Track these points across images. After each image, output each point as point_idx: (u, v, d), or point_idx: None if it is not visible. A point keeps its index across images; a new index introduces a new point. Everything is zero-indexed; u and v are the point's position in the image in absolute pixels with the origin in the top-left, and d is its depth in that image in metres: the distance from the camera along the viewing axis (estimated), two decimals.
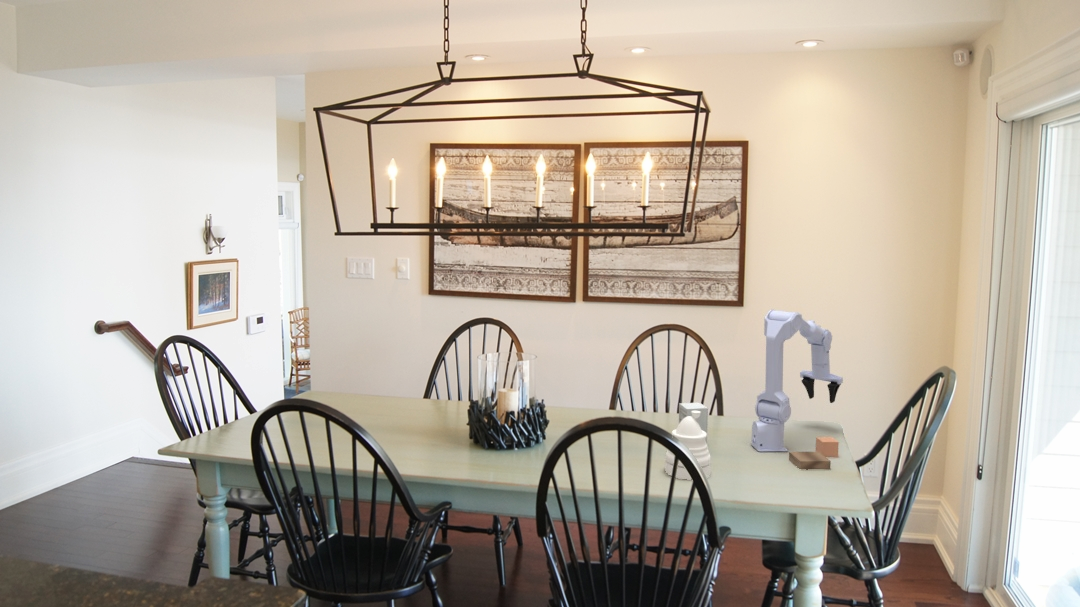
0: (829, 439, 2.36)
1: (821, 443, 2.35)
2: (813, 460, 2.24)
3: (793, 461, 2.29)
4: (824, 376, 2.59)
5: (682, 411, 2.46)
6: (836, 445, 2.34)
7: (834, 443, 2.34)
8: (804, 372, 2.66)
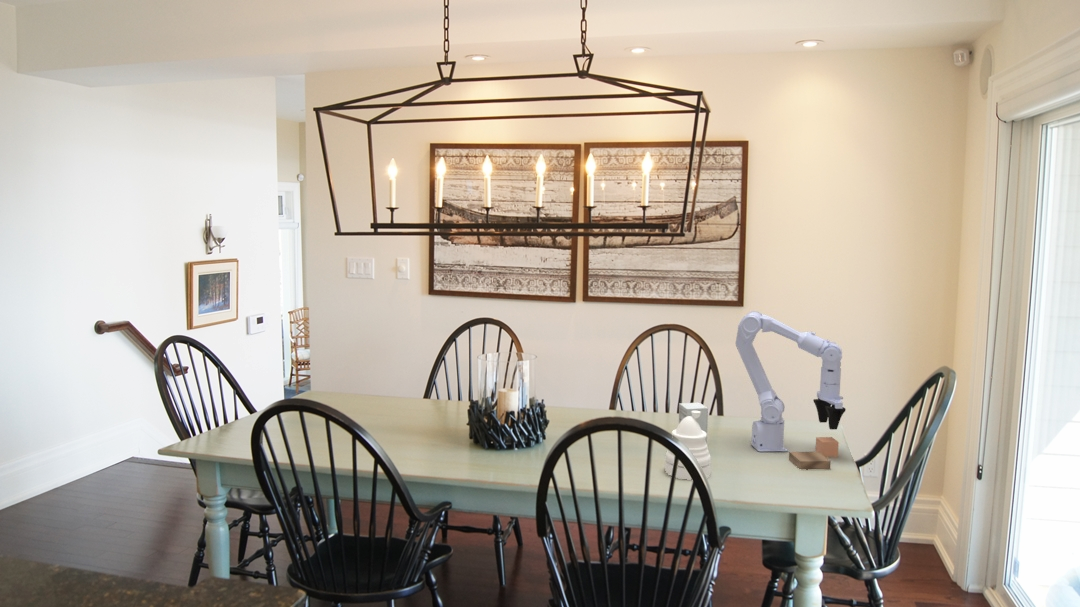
0: (829, 439, 2.36)
1: (821, 443, 2.35)
2: (813, 460, 2.24)
3: (793, 461, 2.29)
4: (826, 397, 2.33)
5: (682, 411, 2.46)
6: (836, 445, 2.34)
7: (834, 443, 2.34)
8: None
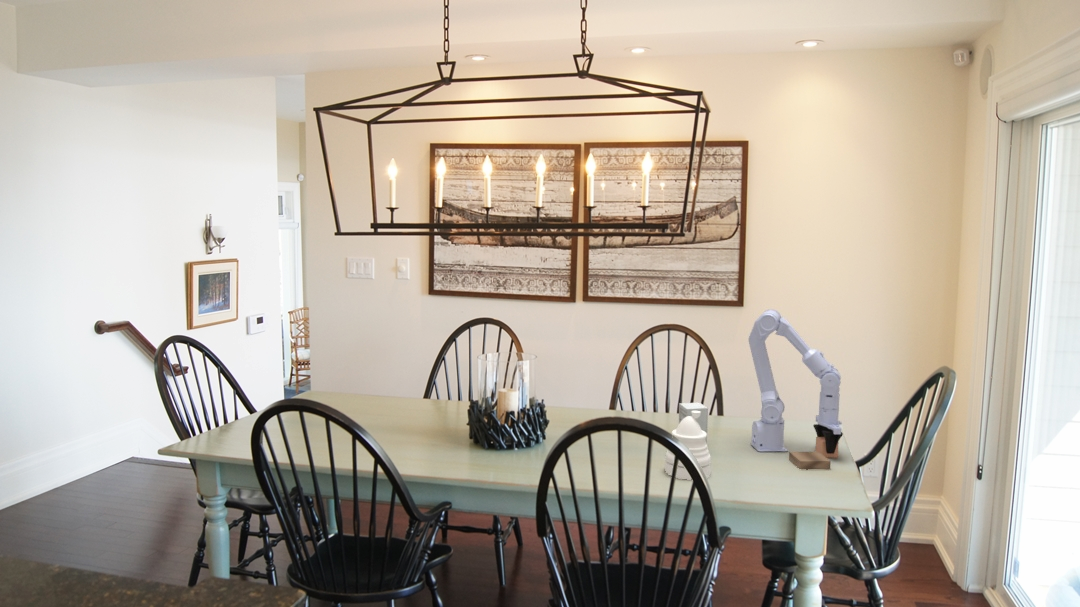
0: None
1: (821, 443, 2.35)
2: (813, 460, 2.24)
3: (793, 461, 2.29)
4: (825, 422, 2.34)
5: (682, 411, 2.46)
6: None
7: None
8: None
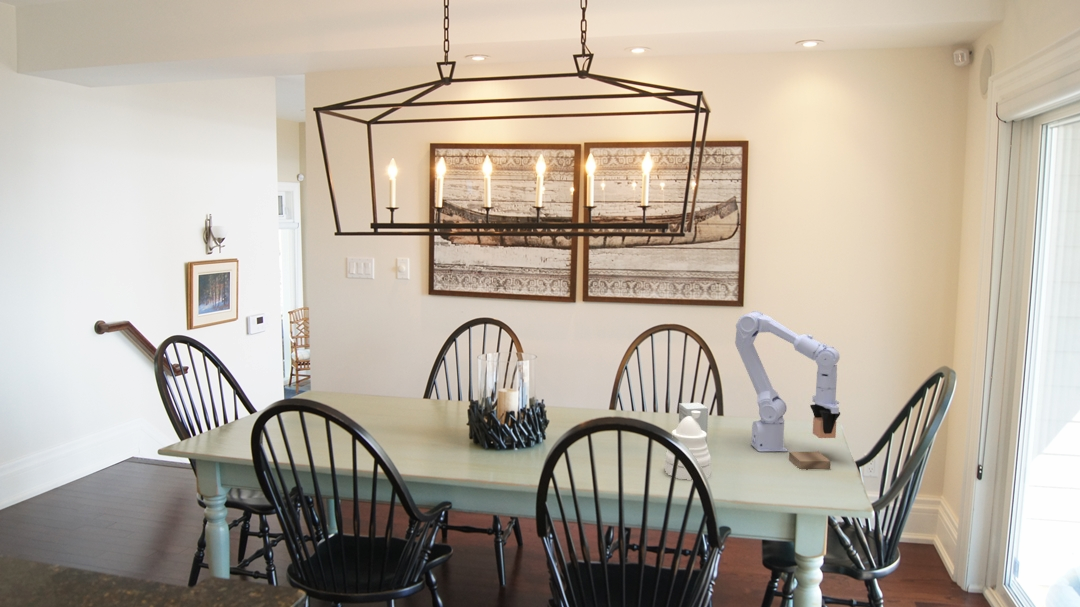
0: None
1: (819, 423, 2.32)
2: (813, 460, 2.24)
3: (793, 461, 2.29)
4: (822, 402, 2.31)
5: (682, 411, 2.46)
6: (834, 425, 2.32)
7: None
8: None
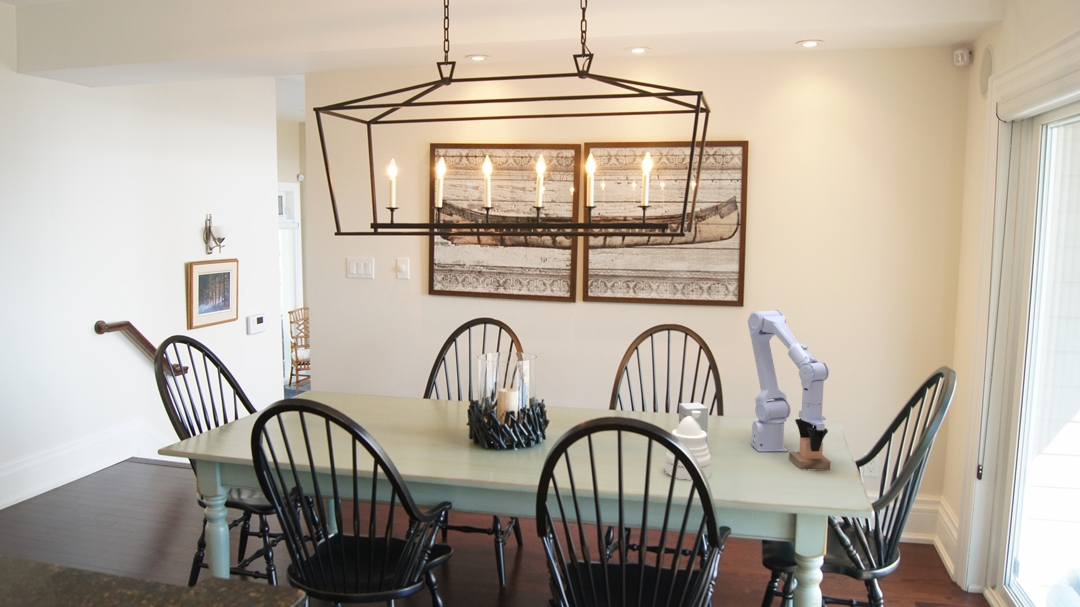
0: None
1: (804, 444, 2.25)
2: (813, 460, 2.24)
3: (793, 461, 2.29)
4: (808, 417, 2.24)
5: (682, 411, 2.46)
6: None
7: None
8: None
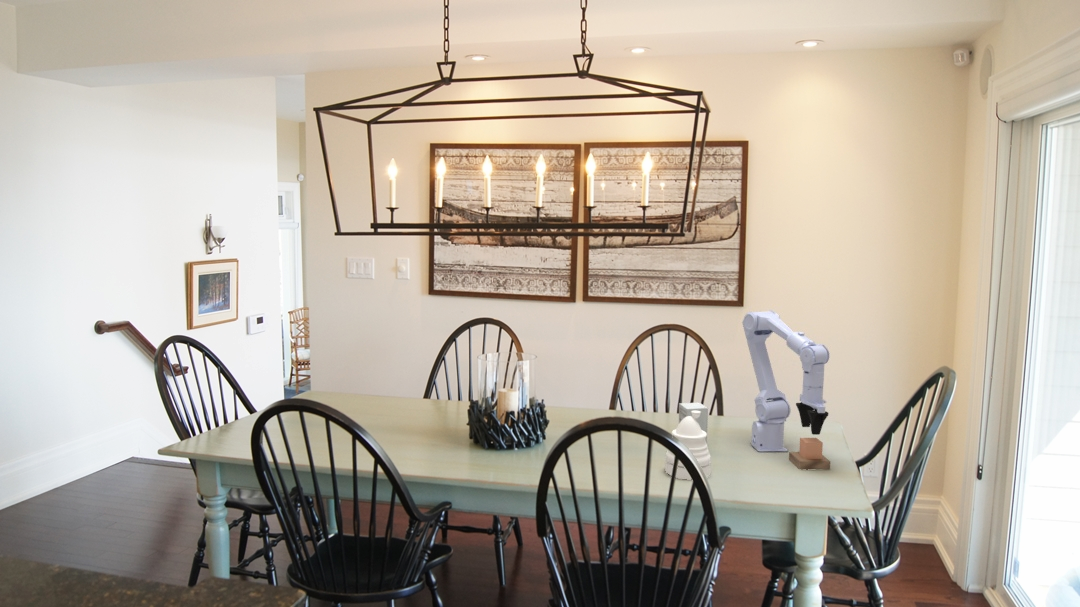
0: (813, 440, 2.27)
1: (804, 444, 2.25)
2: (812, 460, 2.24)
3: (793, 461, 2.29)
4: (809, 401, 2.24)
5: (682, 411, 2.47)
6: (820, 446, 2.25)
7: (818, 444, 2.25)
8: None
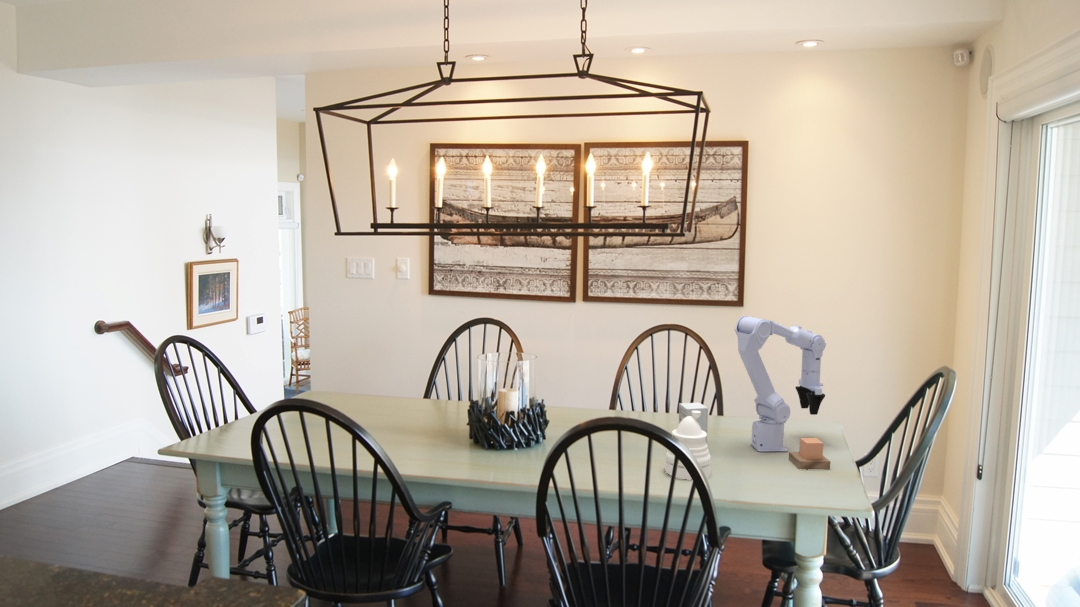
0: (813, 440, 2.26)
1: (805, 444, 2.25)
2: (812, 460, 2.24)
3: (793, 461, 2.29)
4: (807, 384, 2.45)
5: (682, 411, 2.46)
6: (821, 446, 2.25)
7: (818, 444, 2.24)
8: None
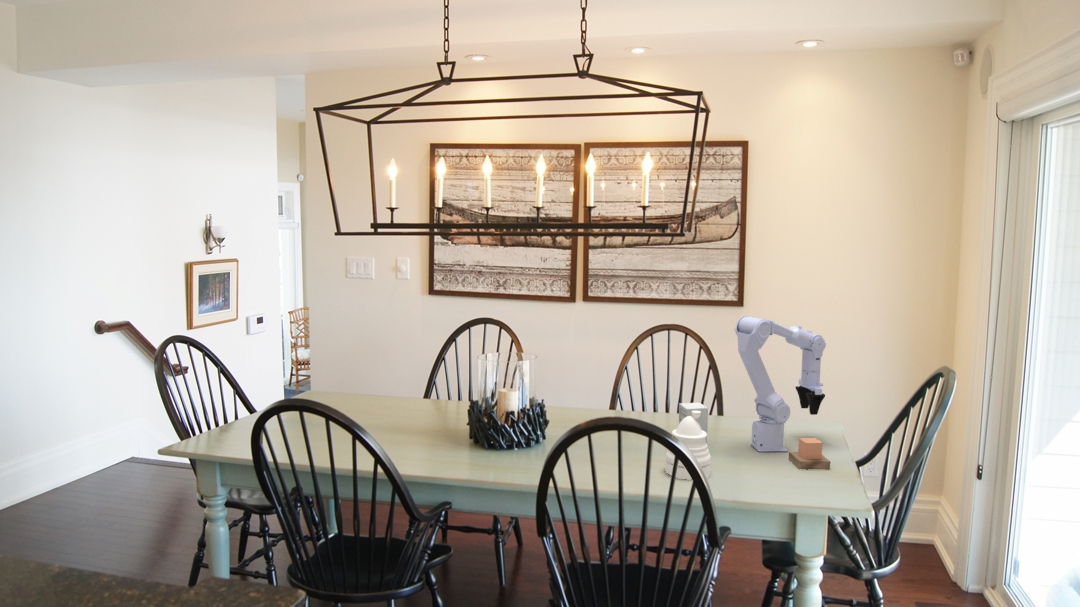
0: (812, 440, 2.27)
1: (804, 444, 2.25)
2: (812, 460, 2.24)
3: (793, 461, 2.29)
4: (807, 384, 2.45)
5: (682, 411, 2.46)
6: (820, 446, 2.25)
7: (817, 444, 2.25)
8: None
